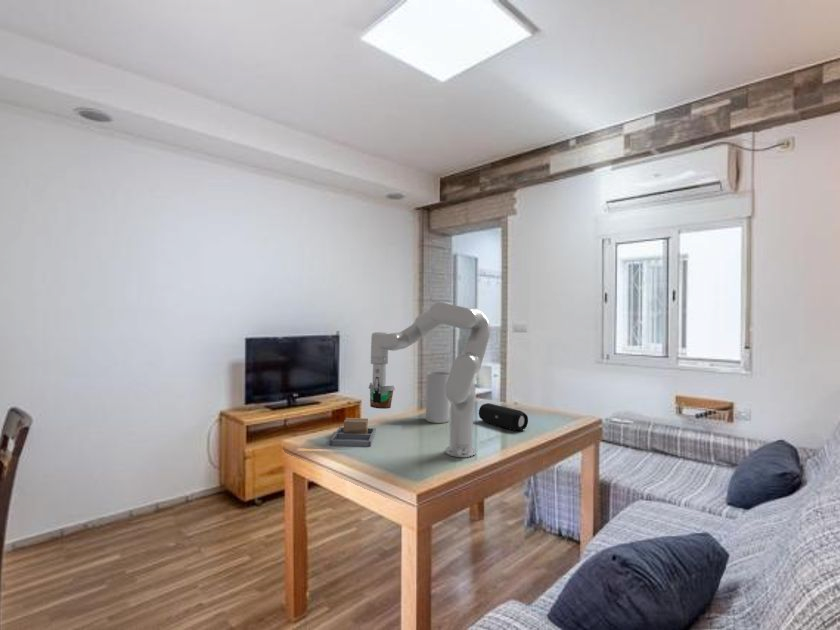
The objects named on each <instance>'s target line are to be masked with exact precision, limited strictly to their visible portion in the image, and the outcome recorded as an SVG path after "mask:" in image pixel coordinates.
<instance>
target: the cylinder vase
mask: <svg viewBox="0 0 840 630" xmlns="http://www.w3.org/2000/svg"><path fill="white" fill-rule="evenodd" d="M449 374H450V372H446V371H429V372H427V373H426V391H425V392H426V394H425V397H426V398H425V399H426V400H425V402H426V403H425V420H426V421H427V422H428V423H431V424H446V423H448V422H450V410H451V402H450V401H449V400H448V399H447V397H446V394H445V387H446V384H447V380H448V377H449Z"/></svg>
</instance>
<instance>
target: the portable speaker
mask: <svg viewBox="0 0 840 630" xmlns="http://www.w3.org/2000/svg"><path fill="white" fill-rule="evenodd" d="M478 417H479V418H480V419H481V421H483V422H484V423H487V424H490V423H491V425H494V424H495V426H497V425H499V426H498V427H501V426H503V427H502V428H505V427H507V428H506V429H508V428H511V429H510V430H512V429H515V430H520V431H524V430H526V428H527V426H528V424H529V417H528V414H526V413H525V412H523V410H520V409H515V408H511V407H506V406H503V405H502V406H501V405H499V404H494V403H488V402H487V403H483V404H481V405H480V407H479V409H478ZM523 429H524V430H523ZM515 430H514V431H515Z"/></svg>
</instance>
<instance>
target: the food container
mask: <svg viewBox="0 0 840 630" xmlns="http://www.w3.org/2000/svg"><path fill="white" fill-rule="evenodd" d="M378 386H380V385H378ZM368 389H369V401H370V402H369V404H370V408H373V409H382V410H384V409H391V407H392V400H393V395H394V391H395V389H396V388H395V385H385V386H384V387H382V386H381V387H380V393H381V402H380V403H374V402H373V393H374V387H373V382H370V383H369V385H368Z"/></svg>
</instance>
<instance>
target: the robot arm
mask: <svg viewBox="0 0 840 630" xmlns="http://www.w3.org/2000/svg"><path fill="white" fill-rule="evenodd" d="M444 325H446V326H449V327H454V328H458V329H462V330H469V333H468V336H467V338H466V340H465V345H464V348H463V350H462V353H461V354H459V355H457V356H456V357H455V358H454V360H453V362H452V365H451V368H450V371H449V373H450V374H449V377H448V380H447V384H446V387H445V394H446V397H447V399H448V400H449V401H450V414H449V440H448V441H449V445H448V446H447V447H446V448H445V454H447V455H448V456H451V457H454V458H470V456H471V457H473V455H474V456H475V455H476V454H477V450H476V449H475V448H474V447H473V440H474V439H473V435H474V434H473V433H474V432H473V431H474V413H475V411H474V410H475V408H474V407H475V400H476V399H475V398H476V384H475V382H474V379H475V378H474V377H475V375H476V374H477V373H479V371H480V370H481V367H482V364H483V360H484V357H485V353H486V350H487V346H488V343H489V340H490V335H491V324H490V321H489V319H488V316H486V314H484V312H483V311H481V310H480V309H478V308H475V307H464V306H460V305H456V304H455V305H454V304H452V303H450V302H448V301H441V300H440V301H436V302H434V303H433V304H432V305H431V306H430V308H429V309H428V310H426V311H425V312H423V313H422V314H420V315H419V316H418V315H417V317H416V318H415V319H414V322H413V323H412V324H411V325H410V326H408V327H406V328H405V329H404V330H401V331H399V332H394V333H393V332H392V333H387V332H384V331H383V332H382V331H381V332H380V331H379V332H378V331H377V332H373V333H372V334H371V336H370V337H371V342H370V344H371V345H370V364H371V365H372V385H373V387H374V393H373V402H374V403H380V402H381V393H380V387H381V386H382V387H384V386H386V383H387V382H386V381H387V379H386V377H387V375H386V374H387V372H386V370H387V368H386V367H387V365H388V361H389V351H398V350H399V351H401V350H403V349H406V348H408V347H410V346H412V345H413V344H415V343H417V342H418V341H420V340H421V339H422V338H424V337H426V336H427V335H429V334H431V333H432V332H434V331H435V330H437V329H438V328H441V327H443V326H444ZM378 385H380V386H378Z"/></svg>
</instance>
